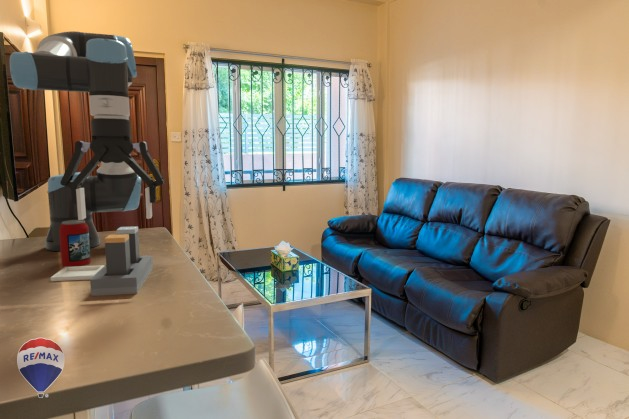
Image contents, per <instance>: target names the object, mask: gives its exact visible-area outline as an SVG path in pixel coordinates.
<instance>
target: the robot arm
mask: <svg viewBox="0 0 629 419" xmlns="http://www.w3.org/2000/svg"><path fill="white" fill-rule="evenodd" d="M133 49H134V48H133V44H132V41H131V40H130V39H129V38H128V37H125V36H122V35H116V34H104V33H102V34H101V33H93V32H92V33H90V32H80V31H62V32H57V33H53V34H50V35H48V36H45V37H44V38H43V39H41V40H40V41H39V43H38V44H37V48H36V50H35V51H34V52H29V51H13V52H12V53H11V54H10V56H9V72H10V78H11V82H12V84H13V85H14V86H15V87H16V89H23V90H31V91H38V90H39V91H57V92H60V91H61V92H63V91H64V92H75V93H76V92H77V93H88V95H89V97H88V98H89V99H88V100H89V112H90V113H89V114H90V116H92V117H93V118H91V120H90V131H91V141H90V142H85V141H84V140H77V141H75V142H74V151H73V155H72V157H71V158H70V160H69V163H68V165H67V166H66V170H65V172H64V173H63V174H57V175H52V176H50V177H48V180H47V191H46V193H47V194H48V199H47V200H48V209H49V210H48V211H49V226H48V227H49V228H48V230H47V234H46V238H45V242H44V244H45V250H47V251H52V252H61V248H60V234H59V228H60V226H61V224H62V222H63V221H68V220H85V222H86V224H87V225H88V228H89V242H90V249H91V248H95V247H98V246H99V245H100V244H101V240H100V236H99V233H98V231H97V229H96V227H95V224H94V221H93V213H108V212H127V211H134V210H136V209H138V208H139V205H140V200H141V192H142V191H141V190H142V181H143V182H144V183H145V185H146V186H147V187H145V189H144V192H145V193H144V194H145V213H146V214H145V216H146V219H147V220H149V219H152V217H153V203H156V202H157V187H159V186H162V185H163V184H165V179H164V177H163V176H162V174H161V172H160V170H159V168H158V166H157V165H156V163H155V162H154V159H153V158H152V156H151V154H150V152H149V147H148V143H147V141H140V142H135V143H133V141H132V133H131V132H132V130H131V129H132V128H131V121H130V118H129V117H130V116H131V113H130V112H131V111H130V96H129V87H130V86H131V85H132V84H133V78H134V79H135V78H137V77H138V72H137V64H136V60H135V59H136V58H135V54H134V50H133ZM89 149H90V150H91V151H92V152H93V154H94V155H92V156H93V157H91V159H90V160H89V162H88V163H87V164H86V165H85V167H84V168H83V169H82V170H81V171H77V170H78V168H79V166H80V163H81V162H82V159H83V157H84V155H85V153H86V152H88V150H89ZM134 149H135V150H136V152H138V153H140V155H141V157H142V159H143V161H144V163H145V165H146V166H147V168H148V169H149V171H150V173H151V175H152V176H153V178H154V179H153V178H152V177H151V176H150V175H149V174H148V173H147V172H146V170H144V168H143V167H141V165H139V163H138V162H137V161H136V160H135V158H134V157H133V156H132V155H131V153H132V151H133V150H134ZM99 164H100V166H99ZM98 166H99V167H98ZM97 167H98V168H97ZM95 169H96V175H91V174H92V172H94V170H95Z"/></svg>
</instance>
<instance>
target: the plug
mask: <svg viewBox="0 0 629 419" xmlns="http://www.w3.org/2000/svg"><path fill="white" fill-rule="evenodd" d="M104 250H105V265H106V270H107V276H113V275H130V273H131V265H130V246H129V234H118V235H117V234H108V235H107V236H106V237H105V238H104Z"/></svg>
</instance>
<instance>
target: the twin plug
mask: <svg viewBox="0 0 629 419" xmlns="http://www.w3.org/2000/svg"><path fill="white" fill-rule="evenodd" d="M118 234H129V246H130V263H139V262H140V256H141V255H140V254H141V253H140V238H139V226H120V227H118V228H117V229H116V235H118Z"/></svg>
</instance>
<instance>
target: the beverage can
mask: <svg viewBox="0 0 629 419" xmlns="http://www.w3.org/2000/svg"><path fill="white" fill-rule="evenodd" d="M59 234H60V248H61V251H60V258H61V266H63V268H64V267H75V266H88V265H89V264H90V263H91V248H90V242H89V228H88V225H87V224H86V222H85V220H68V221H63V222H62V224H61V226H60V228H59Z"/></svg>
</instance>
